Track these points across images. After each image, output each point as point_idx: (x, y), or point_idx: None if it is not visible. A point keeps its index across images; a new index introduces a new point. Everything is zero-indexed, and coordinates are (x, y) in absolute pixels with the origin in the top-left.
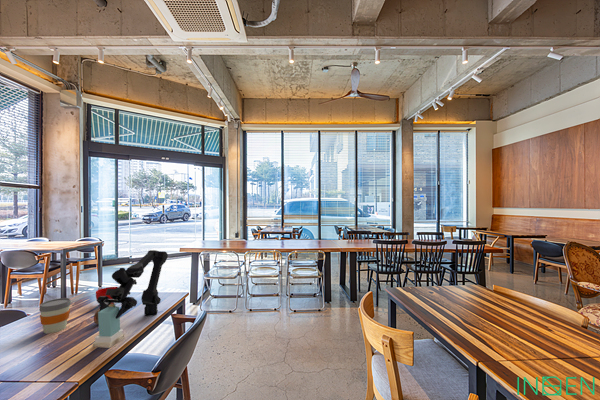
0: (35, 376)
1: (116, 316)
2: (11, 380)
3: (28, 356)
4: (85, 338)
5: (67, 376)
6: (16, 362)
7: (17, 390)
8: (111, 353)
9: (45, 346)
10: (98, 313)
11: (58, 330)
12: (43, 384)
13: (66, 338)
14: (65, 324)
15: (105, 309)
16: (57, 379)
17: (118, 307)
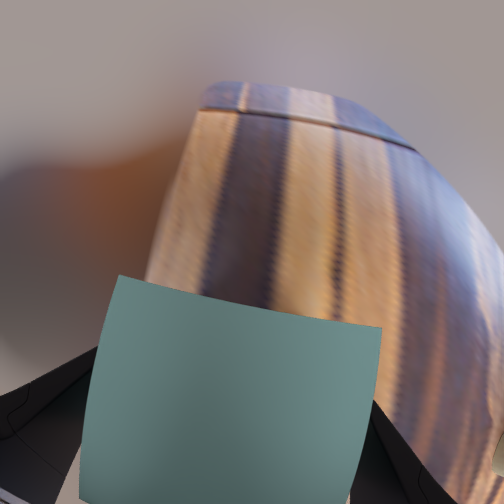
0: (359, 147)
1: (96, 350)
2: (405, 148)
3: (481, 272)
4: (395, 420)
5: (249, 128)
6: (479, 240)
7: (343, 106)
8: (157, 251)
9: (486, 339)
10: (365, 331)
11: (502, 439)
12: (295, 110)
13: (463, 405)
14: (501, 464)
15: (310, 457)
16: (272, 121)
17: (79, 482)
